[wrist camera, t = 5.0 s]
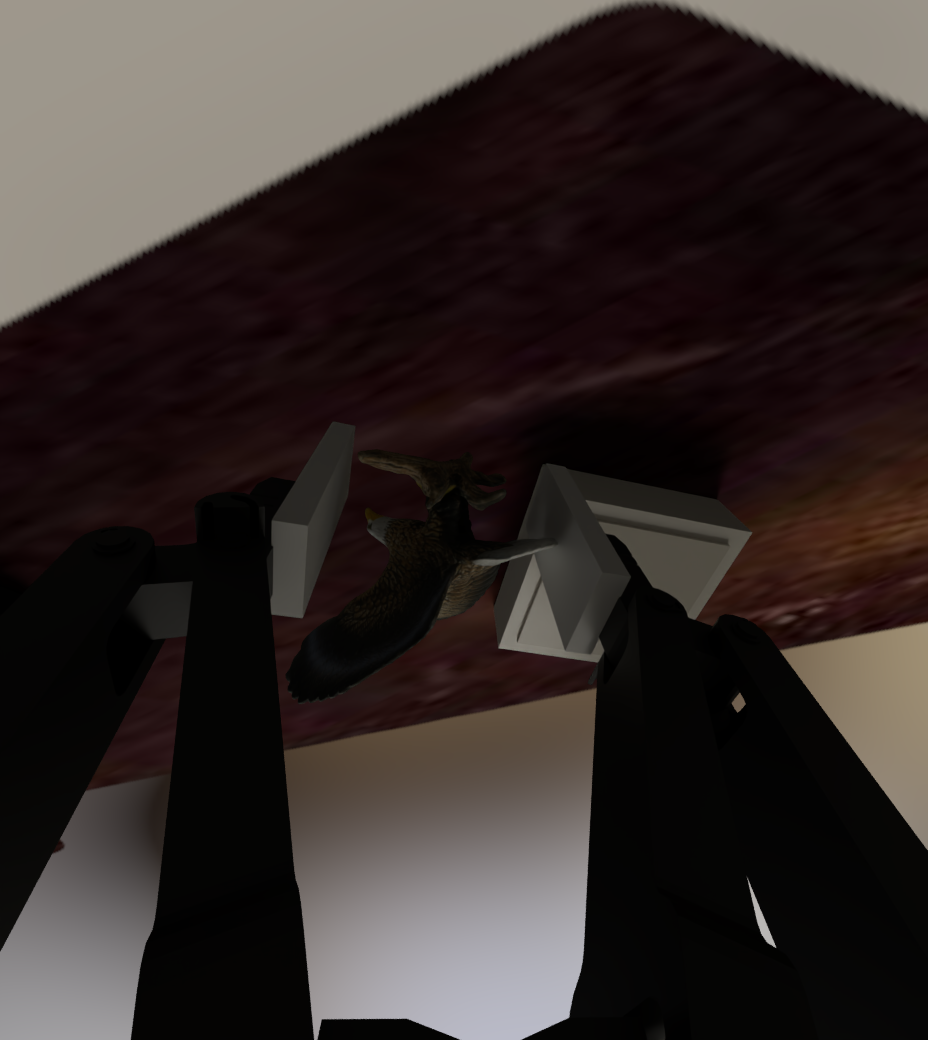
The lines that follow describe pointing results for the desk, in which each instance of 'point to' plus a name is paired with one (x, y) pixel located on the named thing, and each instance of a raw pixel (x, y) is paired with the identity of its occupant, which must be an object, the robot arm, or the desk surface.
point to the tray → (652, 542)
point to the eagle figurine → (409, 577)
